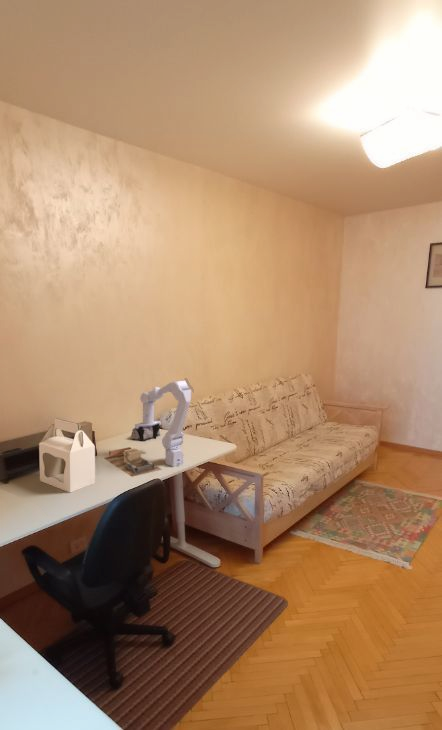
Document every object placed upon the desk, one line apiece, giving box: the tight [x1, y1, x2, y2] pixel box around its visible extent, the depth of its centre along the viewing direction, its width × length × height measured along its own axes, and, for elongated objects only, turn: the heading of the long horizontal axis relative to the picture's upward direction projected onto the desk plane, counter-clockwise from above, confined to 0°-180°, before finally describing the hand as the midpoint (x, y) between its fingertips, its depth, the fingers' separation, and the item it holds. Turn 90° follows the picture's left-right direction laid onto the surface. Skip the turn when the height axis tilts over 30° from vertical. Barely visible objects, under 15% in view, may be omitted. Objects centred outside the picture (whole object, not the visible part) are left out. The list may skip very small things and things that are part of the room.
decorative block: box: [67, 421, 93, 443], centre depth 211 cm, size 11×6×20 cm, turn 147°
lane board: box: [103, 454, 163, 478], centre depth 209 cm, size 32×16×4 cm, turn 39°
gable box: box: [38, 418, 96, 493], centre depth 185 cm, size 22×13×28 cm, turn 56°
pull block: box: [108, 447, 142, 465], centre depth 214 cm, size 16×12×6 cm
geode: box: [131, 426, 161, 441], centre depth 260 cm, size 20×12×10 cm, turn 147°
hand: (148, 439), depth 222 cm, fingers open, 7 cm apart
